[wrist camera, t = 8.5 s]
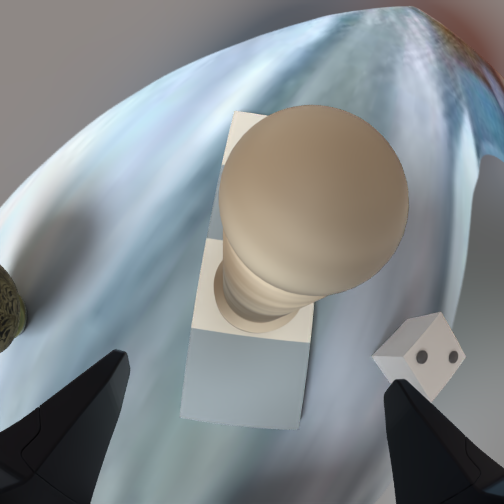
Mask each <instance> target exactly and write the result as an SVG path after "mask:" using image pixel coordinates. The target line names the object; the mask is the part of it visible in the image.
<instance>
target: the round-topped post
mask: <svg viewBox="0 0 504 504" xmlns="http://www.w3.org/2000/svg"><path fill="white" fill-rule="evenodd" d="M408 210H409V197H408V186H407V181H406V178H405V174H404V171H403V168H402V165H401V163H400V161H399V159H398V157H397V155H396V153H395V152H394V150H393V149H392V147H391V146H390V144H389V143H388V142H387V141H386V139H385V138H384V137H383V136H382V135H381V134H380V133H379V132H378V131H377V130H376V129H375V128H374V127H372V126H371V125H370V124H369V123H367V122H366V121H364V120H363V119H361V118H359V117H357V116H355V115H353V114H351V113H349V112H346V111H344V110H341V109H337V108H333V107H328V106H321V105H303V106H296V107H291V108H286V109H283V110H280V111H278V112H275V113H273V114H271V115H269V116H267V117H265V118H263V119H262V120H260V121H259V122H257V123H256V124H255V125H254V126H252V127H251V128H250V129H249V130H248V131H247V132H246V133H245V134H244V135H243V136H242V137H241V138H240V140H239V141H238V142H237V144H236V145H235V146H234V148H233V149H232V151H231V153H230V155H229V156H228V158H227V161H226V163H225V166H224V169H223V172H222V175H221V180H220V186H219V211H220V217H221V222H222V226H223V260H222V261H221V263H220V264H219V266H218V268H217V270H216V273H215V277H214V296H215V300H216V304H217V307H218V309H219V311H220V313H221V314H222V316H223V317H224V318H225V319H226V320H227V321H228V322H229V323H230V324H231V325H233V326H234V327H236V328H238V329H240V330H242V331H245V332H249V333H265V332H269V331H273V330H276V329H279V328H281V327H283V326H284V325H286V324H287V323H289V322H290V321H291V320H292V319H293V318H294V317H295V316H296V314H297V313H298V311H299V310H300V308H303V307H305V306H307V305H309V304H311V303H313V302H315V301H318V300H320V299H322V298H324V297H326V296H328V295H332V294H337V293H341V292H344V291H347V290H350V289H352V288H355V287H357V286H358V285H360V284H362V283H364V282H366V281H367V280H369V279H370V278H371V277H373V276H374V275H375V274H376V273H378V272H379V271H380V270H381V269H382V267H383V266H384V265H385V264H386V263H387V262H388V261H389V260H390V258H391V257H392V255H393V254H394V252H395V251H396V249H397V247H398V245H399V243H400V241H401V239H402V236H403V234H404V231H405V227H406V223H407V218H408Z"/></svg>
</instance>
